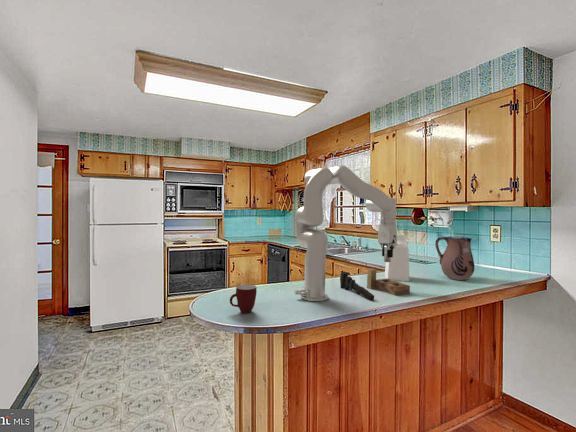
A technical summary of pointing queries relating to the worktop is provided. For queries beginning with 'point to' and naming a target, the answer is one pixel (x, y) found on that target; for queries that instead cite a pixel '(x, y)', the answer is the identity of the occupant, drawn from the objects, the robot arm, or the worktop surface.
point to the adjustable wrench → (354, 286)
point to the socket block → (392, 287)
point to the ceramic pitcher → (456, 258)
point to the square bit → (371, 278)
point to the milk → (399, 262)
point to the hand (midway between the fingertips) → (387, 256)
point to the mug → (245, 297)
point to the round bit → (386, 253)
